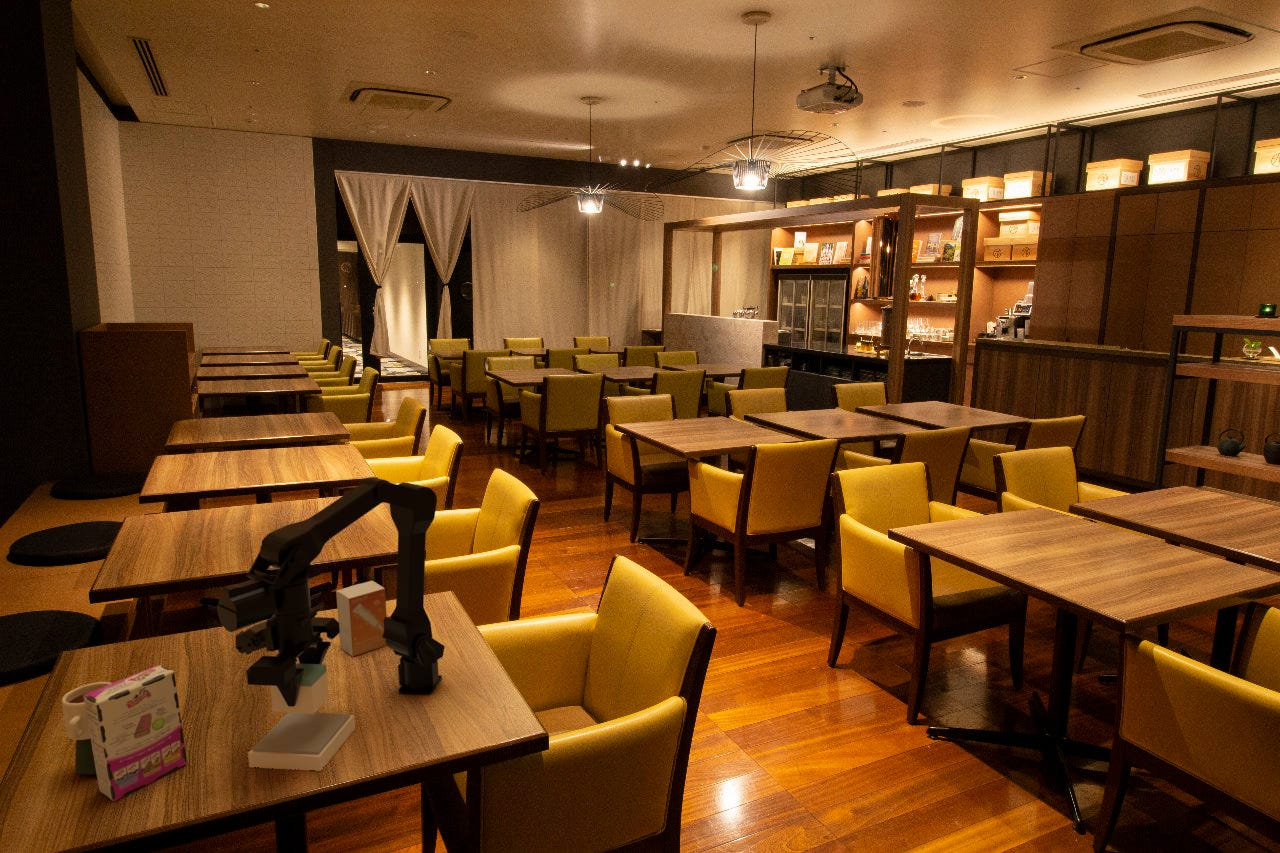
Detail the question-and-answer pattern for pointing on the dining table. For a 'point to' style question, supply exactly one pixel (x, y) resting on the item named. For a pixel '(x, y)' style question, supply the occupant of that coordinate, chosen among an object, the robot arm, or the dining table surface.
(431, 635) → the robot arm
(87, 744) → the character mug
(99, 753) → the candy bar box
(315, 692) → the cream carton
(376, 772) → the dining table surface
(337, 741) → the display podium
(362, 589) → the small box
